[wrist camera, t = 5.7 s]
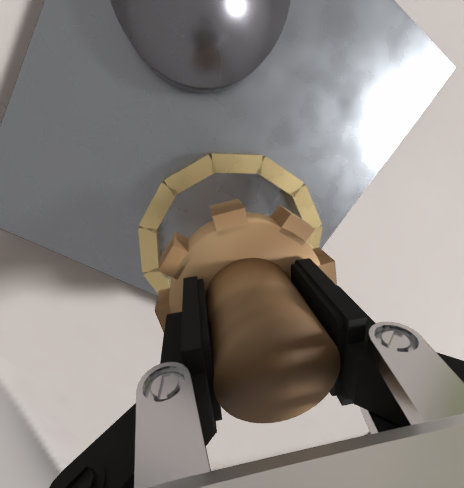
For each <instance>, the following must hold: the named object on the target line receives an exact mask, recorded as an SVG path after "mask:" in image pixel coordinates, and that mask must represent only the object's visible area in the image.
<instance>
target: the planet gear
mask: <svg viewBox="0 0 464 488" xmlns="http://www.w3.org/2000/svg"><path fill="white" fill-rule="evenodd" d="M210 210H211V214H212V217H213V220H212V221H210V222H208V223H206V224H205V225H203V226H202V227H200V228H199V229H198V230H197V231H195V232H194V233H193V234H192V235H191V236H190V237H189V238H187V237H185V236H183V235H181V234H179V233H177V232H175V233H174V234H173V236H172V238H171V240H170V241H169V243H168V245H167V247H166V248H165V250H164V252H163V253H162V256H161V260H160V265H159V269H158V271H159V272H161V273H163V274H165V275H168V276H170V277H171V284H170V288H167V289H164V290H160V291H159V292H158V297H157V302H156V307H155V313H156V315H157V317H158V320H159V322H160V325H161V327H162V330H163V332H164V330H165V322H166V316H167V314H170V313H176V312H182V300H183V278H187V277H194V276H197V277H198V279H203V282H204V288H205V294H206V302H207V312H208V321H209V331H210V340H211V350H212V359H213V369H214V377H213V387H214V393H215V397H216V399H217V401H218V403H219V404H220V405H221V407H222V408H223V409H224V410H225V411H226V412H228V413H229V414H230V415H232V416H234V417H236V418H238V419H241V420H243V421H248V422H253V423H273V422H279V421H284V420H288V419H290V418H293V417H296V416H298V415H300V414H302V413H304V412H306V411H308V410H310V409H311V408H312V407H314V406H315V405H317V404H318V403H319V402H320V401H321V400H322V399H323V398H324V397H325V396H326V395H327V394H328V393H329V392H330V390H331V389H332V387H333V386H334V384H335V382H336V380H337V378H338V375H339V371H340V355H339V351H338V349H337V347H336V345H335V343H334V342H333V340H332V339H331V337H330V336H329V335H328V333H327V332H326V330H325V329H324V327H323V326H322V324H321V323H320V322H319V320H318V319H317V317H316V316H315V314H314V313H313V311H312V310H311V309H310V307H309V306H308V304H307V303H306V301H305V300H304V299H303V297H302V296H301V294H300V293H299V291H298V290H297V288H296V287H295V286H294V284H293V283H292V281H291V265H292V264H295V261H296V260H300V259H307V258H310V259H311V260H312V261H313V262H314V263H315V264H316V265H317V266H318V267H319V268H320V269H321V270H322V271H323V272H324V273H325V274H326V275H327V276H328V277H329V278H330V279H331V280H332V281H333V282H334V283H335V285H337V281H336V269H335V261H334V260H333V259H332V258H331V257H329V256H328V255H327V254H326V253H325V252H324V251H323V250H321V249H320V248H319V247H318V248H314V249H312V248H311V247H310V246H309V245H308V244H307V243H306V241H307V239H308V238H309V237H310V235H311V234H312V233H313V231H314V230H315V228H313V227H312V226H311V225H309V224H308V223H307V222H305V221H304V220H303V219H301V218H300V217H298V216H297V215H295V214H294V213H292V212H290V211H289V210H287V209H286V208H284V207H282V206H281V205H278V206H277V208H276V209H275V211H274V212H273V214H272V215H271V216H268V215H264V214H259V213H250V212H246V210H245V207H244V206H243V204H242V203H241V202H240V200H239V199H234V200H230V201H226V202H223V203H219V204H215V205H211V206H210Z"/></svg>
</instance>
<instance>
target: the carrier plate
mask: <svg viewBox="0 0 464 488" xmlns="http://www.w3.org/2000/svg"><path fill="white" fill-rule="evenodd" d="M455 68H456V67H455V66H454V65H453V64H452V62H451V61H450V60H449V59H448V58H447V57H446V56H445V55H444V54H443V53H442V52H441V51H440V49H439V48H438V47H437V46H436V45H435V44H434V43H433V42H432V41H431V40H430V39H429V37H428V36H427V35H426V34H425V33H424V32H423V31H422V30H421V29H420V28H419V27H418V26H417V24H416V23H415V22H414V21H413V20H412V19H411V18H410V17H409V16H408V15H407V14H406V13H405V11H404V10H403V9H402V8H401V7H400V6H399V5H398V4H397V3H396V2H395V1H394V0H45V1H44V4H43V7H42V10H41V12H40V15H39V18H38V21H37V24H36V27H35V29H34V32H33V35H32V38H31V41H30V44H29V46H28V49H27V52H26V55H25V58H24V61H23V63H22V66H21V69H20V72H19V75H18V78H17V80H16V83H15V86H14V89H13V92H12V95H11V97H10V100H9V103H8V106H7V109H6V112H5V114H4V117H3V120H2V123H1V126H0V228H1V229H3V230H6V231H8V232H10V233H12V234H15V235H17V236H19V237H22V238H24V239H26V240H29V241H31V242H33V243H36V244H38V245H40V246H43V247H45V248H47V249H50V250H52V251H54V252H57V253H59V254H61V255H63V256H66V257H68V258H70V259H73V260H75V261H77V262H80V263H82V264H84V265H87V266H89V267H91V268H94V269H96V270H98V271H101V272H103V273H105V274H107V275H110V276H112V277H114V278H117V279H119V280H121V281H124V282H126V283H128V284H131V285H133V286H135V287H138V288H140V289H142V290H145V291H147V292H149V293H152V294H154V295H156V296H158V292H159V291H160V290H164V289H167V288H170V284H171V277H170V276H168V275H165V274H163V273H161V272H159V271H158V269H159V265H160V260H161V256H162V253H163V252H164V250H165V248H166V247H167V245H168V243H169V241H170V240H171V238H172V236H173V234H174V233H175V232H177V233H179V234H181V235H183V236H185V237H187V238H189V237H190V236H191V235H192V234H193V233H194V232H195V231H197V230H198V229H199V228H200V227H202V226H203V225H205V224H206V223H208V222H210V221H212V220H213V217H212V214H211V210H210V206H211V205H215V204H219V203H223V202H226V201H230V200H234V199H239V200H240V202H241V203H242V204H243V206H244V207H245V210H246V212H250V213H259V214H264V215H268V216H271V215H272V214H273V212H274V211H275V209H276V208H277V206H278V205H281V206H282V207H284V208H286V209H287V210H289V211H290V212H292V213H294V214H295V215H297V216H298V217H300V218H301V219H303V220H304V221H305V222H307V223H308V224H309V225H311V226H312V227H313V228H315V230H314V231H313V233H312V234H311V235H310V237H309V238H308V239H307V241H306V243H307V244H308V245H309V246H310V247H311V248H312V249H314V248H318V247H319V248H320V249H321V248H322V247H323V245H324V244H325V243H326V241H327V240H328V239H329V237H330V236H331V235H332V233H333V232H334V231H335V229H336V228H337V227H338V225H339V224H340V223H341V221H342V220H343V219H344V217H345V216H346V215H347V213H348V212H349V211H350V209H351V208H352V206H353V205H354V204H355V202H356V201H357V200H358V198H359V197H360V196H361V194H362V193H363V192H364V190H365V189H366V188H367V186H368V185H369V184H370V182H371V181H372V180H373V178H374V177H375V176H376V174H377V173H378V172H379V170H380V169H381V167H382V166H383V165H384V163H385V162H386V161H387V159H388V158H389V157H390V155H391V154H392V153H393V151H394V150H395V149H396V147H397V146H398V145H399V143H400V142H401V141H402V139H403V138H404V137H405V135H406V134H407V133H408V131H409V130H410V129H411V127H412V126H413V124H414V123H415V122H416V120H417V119H418V118H419V116H420V115H421V114H422V112H423V111H424V110H425V108H426V107H427V106H428V104H429V103H430V102H431V100H432V99H433V98H434V96H435V95H436V94H437V92H438V91H439V90H440V88H441V87H442V86H443V84H444V83H445V81H446V80H447V79H448V77H449V76H450V75H451V73H452V72H453V71H454V69H455Z"/></svg>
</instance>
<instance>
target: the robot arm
mask: <svg viewBox="0 0 464 488" xmlns="http://www.w3.org/2000/svg"><path fill="white" fill-rule="evenodd" d="M291 281H292V283H293V284H294V286H295V287H296V288H297V290H298V291H299V293H300V294H301V296H302V297H303V299H304V300H305V301H306V303H307V304H308V306H309V307H310V309H311V310H312V311H313V313H314V314H315V316H316V317H317V319H318V320H319V322H320V323H321V324H322V326H323V327H324V329H325V330H326V332H327V333H328V335H329V336H330V337H331V339H332V340H333V342H334V343H335V345H336V347H337V349H338V351H339V355H340V371H339V375H338V378H337V380H336V382H335V384H334V386H333V387H332V389H331V390H330V394H331V395H332V396H337V397H338V399H339V401H340V403H341V405H342V406H343V405H348V404H353V403H354V404H355V405H358V406H360V409H361V412H362V415H363V417H364V419H365V422H366V424H367V426H368V428H369V431H370V433H371V434H370V435H366V436H361V437H357V438H352V439H348V440H344V441H339V442H335V443H331V444H326V445H322V446H317V447H313V448H309V449H304V450H300V451H296V452H291V453H287V454H283V455H278V456H274V457H270V458H266V459H261V460H257V461H253V462H249V463H244V464H240V465H236V466H232V467H227V468H223V469H219V470H214V471H211V469H210V464H209V460H208V455H207V450H206V445H207V444H208V443H209V441H210V440H211V439H212V437H213V436H214V435H215V433H217V429H216V421H218V420H222V414H221V406H220V404H219V403H218V401H217V399H216V397H215V393H214V387H213V377H214V369H213V359H212V350H211V340H210V331H209V321H208V312H207V302H206V294H205V288H204V282H203V279H198V277H197V276H194V277H187V278H183V300H182V312H176V313H170V314H167V316H166V322H165V330H164V338H163V346H162V354H161V363H160V364H159V365H157V366H155V367H153V368H152V369H150V370H149V371H147V372H146V373H145V375H144V376H143V377H142V378H141V380H140V382H139V383H138V387H137V393H136V403H135V404H134V405H133V406H132V407H131V408H130V409H129V410H128V411H127V412H126V413H125V414H124V415H122V416H121V417H120V418H119V419H118V420H117V421H116V422H115V423H114V424H113V425H112V426H111V427H109V428H108V429H107V430H106V431H105V432H104V433H103V434H102V435H101V436H100V437H99V438H98V439H96V440H95V441H94V442H93V443H92V444H91V445H90V446H89V447H88V448H87V449H86V450H85V451H84V452H82V453H81V454H80V455H79V456H78V457H77V458H76V459H75V460H74V461H73V462H72V463H71V464H69V465H68V466H67V467H66V468H65V469H64V470H63V471H62V472H61V473H60V474H59V475H58V477H57V478H56V479H55V480H54V481H53V482H52V484H51V486H50V487H49V488H464V361H462V360H459V359H456V358H453V357H449V356H446V355H443V354H440V353H437V352H435V351H434V350H433V348H432V347H431V346H430V345H429V344H428V343H427V342H426V341H425V340H424V339H423V337H422V336H421V335H419V334H418V333H417V332H416V331H415V330H413V329H411V328H409V327H408V326H405V325H402V324H399V323H394V322H380V323H375V322H374V321H373V320H372V319H371V318H370V317H369V316H368V315H367V314H366V313H365V312H364V311H363V310H362V309H361V308H360V307H359V306H358V305H357V304H356V303H355V302H354V301H353V300H352V299H351V298H350V297H349V296H348V295H347V294H346V293H345V292H344V291H343V290H342V289H341V288H340V287H339V286H337V285H335V283H334V282H333V281H332V280H331V279H330V278H329V277H328V276H327V275H326V274H325V273H324V272H323V271H322V270H321V269H320V268H319V267H318V266H317V265H316V264H315V263H314V262H313V261H312V260H311V259H310V258H307V259H300V260H296V261H295V264H292V265H291Z"/></svg>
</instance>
